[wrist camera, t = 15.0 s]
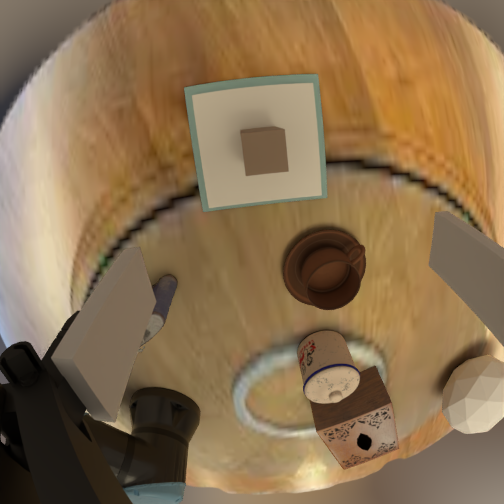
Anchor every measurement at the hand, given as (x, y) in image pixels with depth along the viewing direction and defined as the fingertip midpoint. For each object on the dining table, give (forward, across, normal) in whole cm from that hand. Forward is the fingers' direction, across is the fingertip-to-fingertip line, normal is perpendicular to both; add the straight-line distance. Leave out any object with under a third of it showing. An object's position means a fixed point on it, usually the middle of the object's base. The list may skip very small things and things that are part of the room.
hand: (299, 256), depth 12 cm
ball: (+27, +46, -52) cm, 74 cm away
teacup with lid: (+27, +7, -34) cm, 44 cm away
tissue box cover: (+27, +16, -55) cm, 63 cm away
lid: (+26, 0, +2) cm, 26 cm away
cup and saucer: (+27, +8, -16) cm, 32 cm away
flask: (+27, -18, -18) cm, 37 cm away
